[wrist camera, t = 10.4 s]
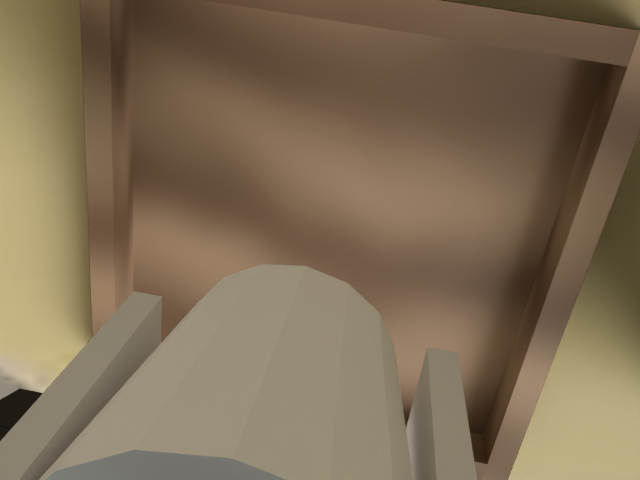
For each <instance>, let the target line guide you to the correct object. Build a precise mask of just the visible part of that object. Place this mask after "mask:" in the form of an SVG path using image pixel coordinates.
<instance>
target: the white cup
mask: <svg viewBox="0 0 640 480" xmlns="http://www.w3.org/2000/svg"><path fill="white" fill-rule="evenodd" d="M39 480H413V478H412V470H411V463H410V456H409V448H408V441H407V434H406V426H405V419H404V412H403V405H402V397H401V390H400V383H399V375H398V368H397V361H396V353H395V347H394V345H393V343H392V340H391V338H390V336H389V334H388V331H387V329H386V327H385V325H384V322H383V320H382V318H381V316H380V313H379V312H378V311H377V310H376V309H375V308H374V307H373V306H372V305H371V304H370V303H369V302H367V301H366V300H365V299H364V298H363V297H362V296H361V295H360V294H359V293H358V292H357V291H356V290H355V289H354V288H352V287H351V286H350V285H349V284H348V283H346V282H344V281H341V280H339V279H337V278H334V277H332V276H329V275H327V274H325V273H322V272H320V271H317V270H315V269H312V268H310V267H308V266H296V265H272V264H261V265H258V266H255V267H252V268H249V269H247V270H244V271H241V272H238V273H235V274H232V275H229V276H227V277H224V278H223V279H222V280H220V281H219V282H218V283H217V284H216V285H215V286H214V287H213V288H212V289H211V290H210V291H209V292H208V293H207V294H206V295H205V296H204V297H203V298H202V299H201V300H200V301H199V302H198V303H197V304H196V305H195V306H194V307H193V308H192V309H191V310H190V311H189V313H188V314H187V315H186V316H185V317H184V318H183V319H182V320H181V322H180V323H179V324H178V325H177V326H176V327H175V328H174V329H173V330H172V332H171V333H170V334H169V335H168V336H167V337H166V338H165V339H164V341H163V342H162V343H161V344H160V345H159V346H158V347H157V348H156V349H155V351H154V352H153V353H152V354H151V355H150V356H149V357H148V358H147V360H146V361H145V362H144V363H143V364H142V365H141V366H140V367H139V368H138V370H137V371H136V372H135V373H134V374H133V375H132V376H131V377H130V379H129V380H128V381H127V382H126V383H125V384H124V385H123V386H122V387H121V389H120V390H119V391H118V392H117V393H116V394H115V395H114V396H113V398H112V399H111V400H110V401H109V402H108V403H107V404H106V405H105V406H104V408H103V409H102V410H101V411H100V412H99V413H98V414H97V415H96V417H95V418H94V419H93V420H92V421H91V422H90V423H89V424H88V426H87V427H86V428H85V429H84V430H83V431H82V432H81V433H80V434H79V436H78V437H77V438H76V439H75V440H74V441H73V442H72V443H71V445H70V446H69V447H68V448H67V449H66V450H65V451H64V452H63V453H62V455H61V456H60V457H59V458H58V459H57V460H56V461H55V462H54V464H53V465H52V466H51V467H50V468H49V469H48V470H47V471H46V472H45V474H44V475H43V476H42V477H41V478H40V479H39Z"/></svg>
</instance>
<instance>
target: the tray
mask: <svg viewBox="0 0 640 480" xmlns="http://www.w3.org/2000/svg"><path fill="white" fill-rule="evenodd" d="M80 19H81V45H82V71H83V97H84V123H85V150H86V176H87V202H88V228H89V254H90V281H91V307H92V333H93V336H94V335H95V334H96V333H97V332H98V331H99V330H100V328H101V327H102V326H103V325H104V324H105V323H106V322H107V321H108V319H109V318H110V317H111V316H112V315H113V314H114V313H115V312H116V310H117V309H118V308H119V307H120V306H121V305H122V304H123V303H124V301H125V300H126V299H127V298H128V297H129V296H130V295H131V294H132V292H133V291H136V292H141V293H147V294H152V295H157V296H162V320H161V343H162V342H163V341H164V339H165V338H166V337H167V336H168V335H169V334H170V333H171V332H172V330H173V329H174V328H175V327H176V326H177V325H178V324H179V323H180V322H181V320H182V319H183V318H184V317H185V316H186V315H187V314H188V313H189V311H190V310H191V309H192V308H193V307H194V306H195V305H196V304H197V303H198V302H199V301H200V300H201V299H202V298H203V297H204V296H205V295H206V294H207V293H208V292H209V291H210V290H211V289H212V288H213V287H214V286H215V285H216V284H217V283H218V282H219V281H220V280H222V279H223V278H224V277H227V276H229V275H232V274H235V273H238V272H241V271H244V270H247V269H249V268H252V267H255V266H258V265H261V264H272V265H296V266H308V267H310V268H312V269H315V270H317V271H320V272H322V273H325V274H327V275H329V276H332V277H334V278H337V279H339V280H341V281H344V282H346V283H348V284H349V285H350V286H351V287H352V288H354V289H355V290H356V291H357V292H358V293H359V294H360V295H361V296H362V297H363V298H364V299H365V300H366V301H367V302H369V303H370V304H371V305H372V306H373V307H374V308H375V309H376V310H377V311H378V312H379V313H380V316H381V318H382V320H383V322H384V325H385V327H386V329H387V331H388V334H389V336H390V338H391V340H392V343H393V345H394V347H395V353H396V361H397V368H398V375H399V383H400V390H401V397H402V405H403V412H404V419H405V426H406V427H407V423H408V419H409V415H410V412H411V408H412V404H413V400H414V396H415V392H416V389H417V385H418V381H419V377H420V373H421V369H422V366H423V362H424V358H425V354H426V350H427V347H430V348H435V349H441V350H446V351H451V352H456V353H458V358H459V365H460V371H461V378H462V385H463V391H464V398H465V404H466V411H467V417H468V424H469V430H470V437H471V443H472V450H473V456H474V463H475V469H476V476H477V480H508V478H509V475H510V473H511V470H512V467H513V465H514V462H515V459H516V457H517V454H518V452H519V449H520V446H521V444H522V441H523V438H524V436H525V433H526V430H527V428H528V425H529V423H530V420H531V417H532V415H533V412H534V409H535V407H536V404H537V401H538V399H539V396H540V394H541V391H542V388H543V386H544V383H545V380H546V378H547V375H548V372H549V370H550V367H551V365H552V362H553V359H554V357H555V354H556V351H557V349H558V346H559V343H560V341H561V338H562V336H563V333H564V330H565V328H566V325H567V322H568V320H569V317H570V314H571V312H572V309H573V307H574V304H575V301H576V299H577V296H578V293H579V291H580V288H581V285H582V283H583V280H584V278H585V275H586V272H587V270H588V267H589V264H590V262H591V259H592V256H593V254H594V251H595V249H596V246H597V243H598V241H599V238H600V235H601V233H602V230H603V227H604V225H605V222H606V220H607V217H608V214H609V212H610V209H611V206H612V204H613V201H614V198H615V196H616V193H617V191H618V188H619V185H620V183H621V180H622V177H623V175H624V172H625V169H626V167H627V164H628V162H629V159H630V156H631V154H632V151H633V148H634V146H635V143H636V140H637V138H638V135H639V133H640V30H636V29H629V28H623V27H616V26H609V25H603V24H596V23H590V22H583V21H576V20H570V19H563V18H557V17H550V16H543V15H537V14H530V13H524V12H517V11H511V10H504V9H497V8H491V7H484V6H478V5H471V4H464V3H458V2H451V1H445V0H80Z"/></svg>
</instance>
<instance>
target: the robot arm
mask: <svg viewBox="0 0 640 480" xmlns="http://www.w3.org/2000/svg"><path fill="white" fill-rule="evenodd" d="M161 320H162V296H157V295H152V294H147V293H141V292H136V291H133V292H132V294H131V295H130V296H129V297H128V298H127V299H126V300H125V301H124V303H123V304H122V305H121V306H120V307H119V308H118V309H117V310H116V312H115V313H114V314H113V315H112V316H111V317H110V318H109V319H108V321H107V322H106V323H105V324H104V325H103V326H102V327H101V328H100V330H99V331H98V332H97V333H96V334H95V335H94V336H93V337H92V339H91V340H90V341H89V342H88V343H87V344H86V345H85V346H84V348H83V349H82V350H81V351H80V352H79V353H78V354H77V355H76V357H75V358H74V359H73V360H72V361H71V362H70V363H69V365H68V366H67V367H66V368H65V369H64V370H63V371H62V372H61V374H60V375H59V376H58V377H57V378H56V379H55V380H54V381H53V383H52V384H51V385H50V386H49V387H48V388H47V389H46V390H45V392H44V393H39V392H34V391H29V390H24V389H18V390H17V391H15V392H13V393H11V394H10V395H8V396H6V397H4V398H3V399H1V400H0V480H39V479H40V478H41V477H42V476H43V475H44V474H45V472H46V471H47V470H48V469H49V468H50V467H51V466H52V465H53V464H54V462H55V461H56V460H57V459H58V458H59V457H60V456H61V455H62V453H63V452H64V451H65V450H66V449H67V448H68V447H69V446H70V445H71V443H72V442H73V441H74V440H75V439H76V438H77V437H78V436H79V434H80V433H81V432H82V431H83V430H84V429H85V428H86V427H87V426H88V424H89V423H90V422H91V421H92V420H93V419H94V418H95V417H96V415H97V414H98V413H99V412H100V411H101V410H102V409H103V408H104V406H105V405H106V404H107V403H108V402H109V401H110V400H111V399H112V398H113V396H114V395H115V394H116V393H117V392H118V391H119V390H120V389H121V387H122V386H123V385H124V384H125V383H126V382H127V381H128V380H129V379H130V377H131V376H132V375H133V374H134V373H135V372H136V371H137V370H138V368H139V367H140V366H141V365H142V364H143V363H144V362H145V361H146V360H147V358H148V357H149V356H150V355H151V354H152V353H153V352H154V351H155V349H156V348H157V347H158V346H159V345H160V344H161ZM406 434H407V441H408V448H409V456H410V463H411V470H412V478H413V480H477V476H476V469H475V463H474V456H473V450H472V443H471V437H470V430H469V424H468V417H467V411H466V404H465V398H464V391H463V385H462V378H461V371H460V365H459V358H458V353H456V352H451V351H446V350H441V349H435V348H430V347H427V350H426V354H425V358H424V362H423V366H422V369H421V373H420V377H419V381H418V385H417V389H416V392H415V396H414V400H413V404H412V408H411V412H410V415H409V419H408V423H407V427H406Z"/></svg>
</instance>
